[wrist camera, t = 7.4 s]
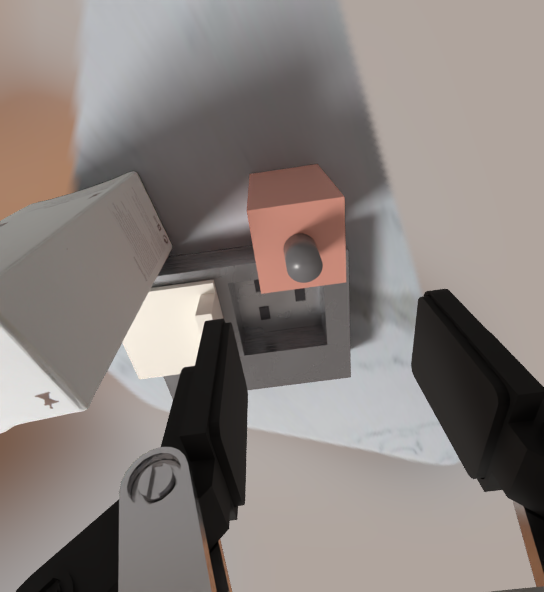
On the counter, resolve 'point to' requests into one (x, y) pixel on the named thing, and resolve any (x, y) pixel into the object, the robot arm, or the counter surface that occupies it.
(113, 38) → the counter surface
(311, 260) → the plug
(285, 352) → the socket
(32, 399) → the skincare box
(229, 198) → the counter surface
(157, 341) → the cream stepped block
